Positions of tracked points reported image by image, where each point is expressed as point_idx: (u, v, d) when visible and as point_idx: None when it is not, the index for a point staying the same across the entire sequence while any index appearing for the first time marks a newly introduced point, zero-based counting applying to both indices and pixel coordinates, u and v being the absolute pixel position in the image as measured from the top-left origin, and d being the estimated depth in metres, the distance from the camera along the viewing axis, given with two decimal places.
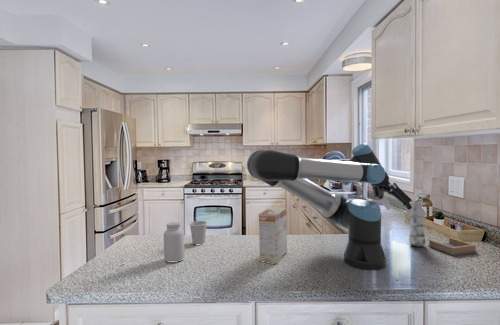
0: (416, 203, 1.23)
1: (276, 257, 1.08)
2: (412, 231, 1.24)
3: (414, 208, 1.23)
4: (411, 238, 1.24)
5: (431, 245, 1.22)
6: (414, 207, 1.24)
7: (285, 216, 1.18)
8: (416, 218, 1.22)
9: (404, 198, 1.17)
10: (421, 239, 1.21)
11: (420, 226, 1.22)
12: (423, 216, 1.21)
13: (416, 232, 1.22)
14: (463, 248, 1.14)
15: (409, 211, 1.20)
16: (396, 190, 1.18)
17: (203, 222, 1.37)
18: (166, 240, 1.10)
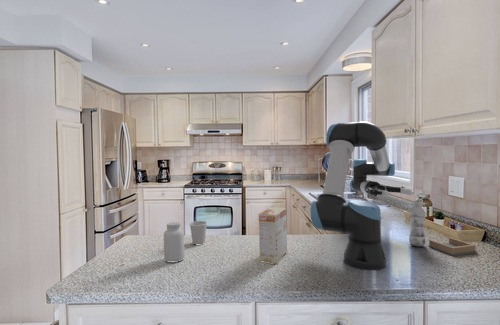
0: (416, 203, 1.23)
1: (276, 257, 1.08)
2: (412, 231, 1.24)
3: (414, 208, 1.23)
4: (411, 238, 1.24)
5: (431, 245, 1.22)
6: (414, 207, 1.24)
7: (285, 216, 1.18)
8: (416, 218, 1.22)
9: None
10: (421, 239, 1.21)
11: (420, 226, 1.22)
12: (423, 216, 1.21)
13: (416, 232, 1.22)
14: (463, 248, 1.14)
15: None
16: None
17: (203, 222, 1.37)
18: (166, 240, 1.10)
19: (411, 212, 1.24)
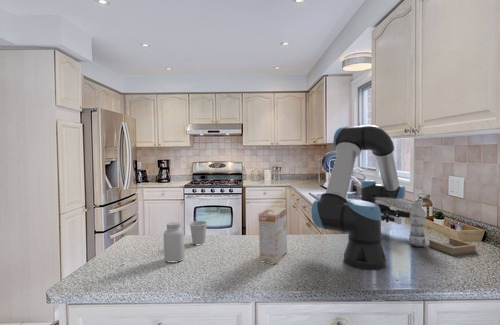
0: (416, 203, 1.23)
1: (276, 257, 1.08)
2: (412, 231, 1.24)
3: (414, 208, 1.23)
4: (411, 238, 1.24)
5: (431, 245, 1.22)
6: (414, 207, 1.24)
7: (285, 216, 1.18)
8: (416, 218, 1.22)
9: None
10: (421, 239, 1.21)
11: (420, 226, 1.22)
12: (423, 216, 1.21)
13: (416, 232, 1.22)
14: (463, 248, 1.14)
15: None
16: None
17: (203, 222, 1.37)
18: (166, 240, 1.10)
19: (411, 212, 1.24)
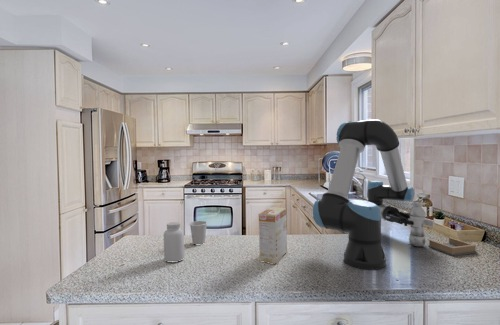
0: (416, 203, 1.23)
1: (276, 257, 1.08)
2: (412, 231, 1.24)
3: (414, 208, 1.23)
4: (411, 238, 1.24)
5: (431, 245, 1.22)
6: (414, 207, 1.24)
7: (285, 216, 1.18)
8: (416, 218, 1.22)
9: None
10: (421, 239, 1.21)
11: None
12: (423, 216, 1.21)
13: (416, 232, 1.22)
14: (463, 248, 1.14)
15: None
16: None
17: (203, 222, 1.37)
18: (166, 240, 1.10)
19: (411, 212, 1.24)
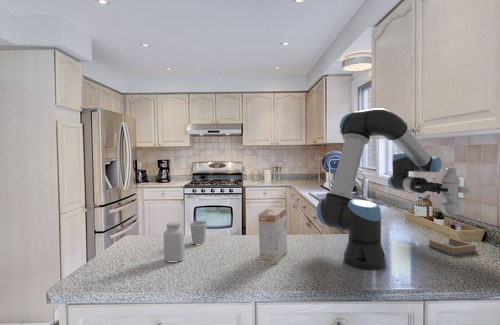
0: (450, 169, 1.17)
1: (276, 257, 1.08)
2: (445, 199, 1.19)
3: (448, 175, 1.18)
4: (444, 206, 1.19)
5: (431, 245, 1.22)
6: (448, 174, 1.18)
7: (285, 216, 1.18)
8: (450, 185, 1.17)
9: None
10: (455, 206, 1.16)
11: None
12: (458, 182, 1.16)
13: (450, 200, 1.17)
14: (463, 248, 1.14)
15: None
16: None
17: (203, 222, 1.37)
18: (166, 240, 1.10)
19: (444, 179, 1.18)
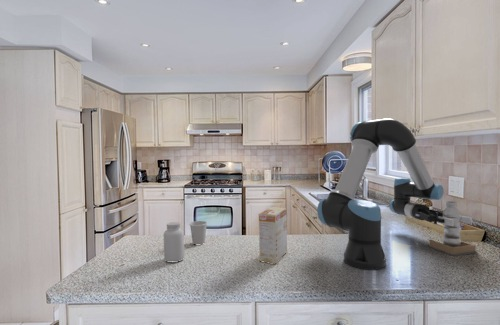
0: (450, 203, 1.18)
1: (276, 257, 1.08)
2: (446, 233, 1.19)
3: (448, 209, 1.18)
4: (445, 240, 1.19)
5: (431, 245, 1.22)
6: (448, 208, 1.18)
7: (285, 216, 1.18)
8: None
9: None
10: (456, 241, 1.16)
11: (455, 228, 1.17)
12: (458, 217, 1.16)
13: (451, 234, 1.17)
14: (463, 248, 1.14)
15: None
16: None
17: (203, 222, 1.37)
18: (166, 240, 1.10)
19: (445, 213, 1.18)
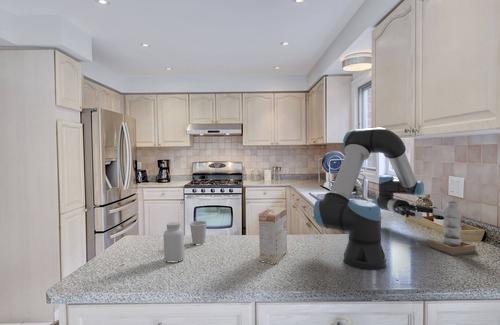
0: (451, 204, 1.17)
1: (276, 257, 1.08)
2: (447, 233, 1.19)
3: (449, 209, 1.18)
4: (446, 240, 1.19)
5: (431, 245, 1.22)
6: (449, 208, 1.18)
7: (285, 216, 1.18)
8: (451, 219, 1.17)
9: None
10: (457, 241, 1.16)
11: (455, 228, 1.17)
12: (459, 217, 1.16)
13: (452, 234, 1.17)
14: (463, 248, 1.14)
15: None
16: None
17: (203, 222, 1.37)
18: (166, 240, 1.10)
19: (446, 213, 1.18)
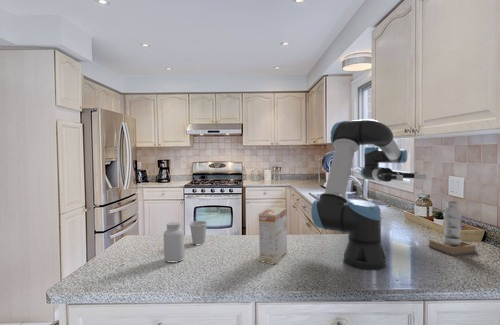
0: (451, 204, 1.17)
1: (276, 257, 1.08)
2: (447, 233, 1.19)
3: (449, 209, 1.18)
4: (446, 240, 1.19)
5: (431, 245, 1.22)
6: (449, 208, 1.18)
7: (285, 216, 1.18)
8: (451, 219, 1.17)
9: None
10: (457, 241, 1.16)
11: (455, 228, 1.17)
12: (459, 217, 1.16)
13: (452, 234, 1.17)
14: (463, 248, 1.14)
15: None
16: None
17: (203, 222, 1.37)
18: (166, 240, 1.10)
19: (446, 213, 1.18)
